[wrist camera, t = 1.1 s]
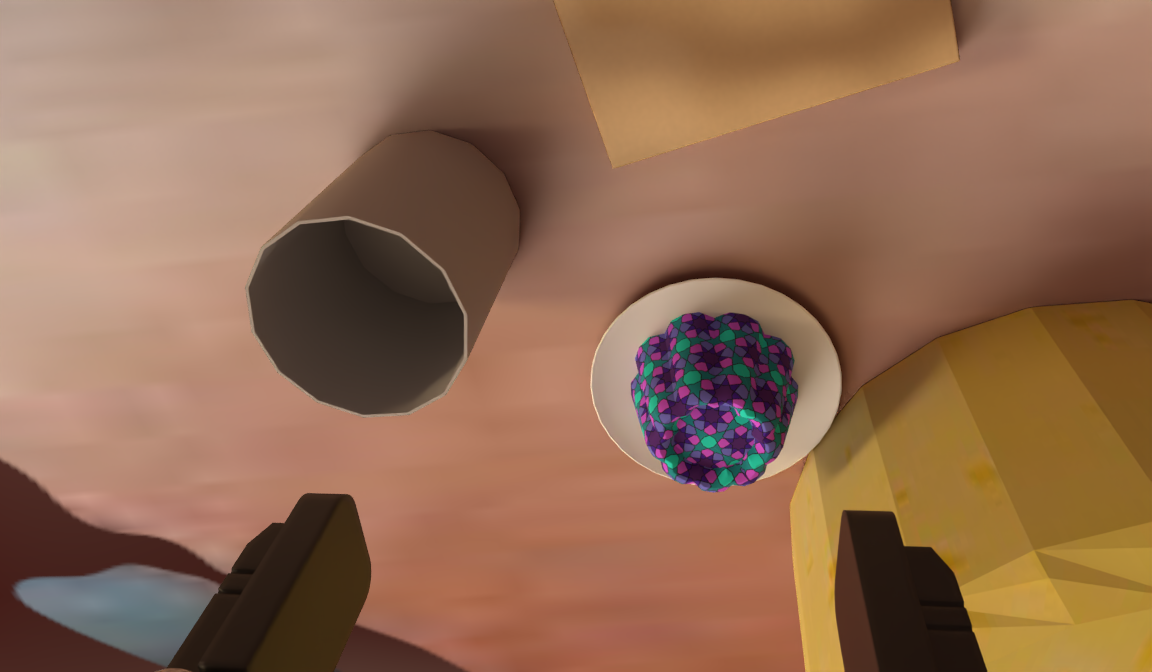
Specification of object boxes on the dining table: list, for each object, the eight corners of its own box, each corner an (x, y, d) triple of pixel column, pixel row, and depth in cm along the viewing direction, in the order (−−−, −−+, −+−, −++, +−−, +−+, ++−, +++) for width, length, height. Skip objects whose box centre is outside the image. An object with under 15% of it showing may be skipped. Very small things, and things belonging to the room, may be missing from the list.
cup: (502, 121, 37) (440, 206, 28) (536, 290, 41) (491, 410, 32) (322, 143, 39) (212, 230, 30) (371, 304, 43) (286, 421, 34)
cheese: (1466, 317, 36) (1892, 586, 23) (1230, 719, 49) (1417, 1034, 36) (824, 283, 39) (881, 503, 26) (763, 670, 52) (782, 944, 39)
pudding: (697, 512, 46) (696, 584, 42) (542, 365, 43) (523, 427, 39) (890, 396, 41) (913, 464, 37) (732, 220, 38) (735, 271, 33)
